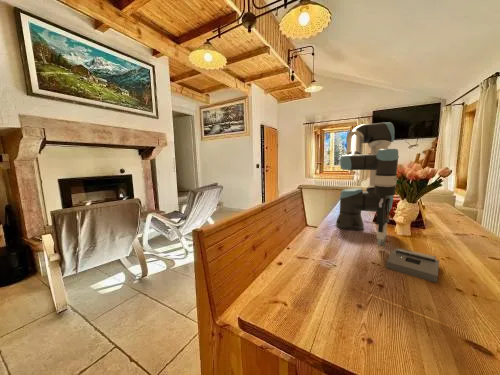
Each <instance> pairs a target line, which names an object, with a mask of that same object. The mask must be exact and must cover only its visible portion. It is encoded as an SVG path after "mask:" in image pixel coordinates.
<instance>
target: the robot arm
mask: <svg viewBox="0 0 500 375" xmlns="http://www.w3.org/2000/svg"><path fill="white" fill-rule="evenodd" d="M395 134H396V133H395V126H394V124H393V123H392V122H391V121H389V122H385V121H382V122H377V123H363V124H360V125H357V126H355V127H353V128H352V129H351V130H350V131H349V132H348V133H347V135H346V138H345V139H346V140H345V141H346V145H347V146H346V151H345V152H346V154H343V155H341V156H340V169H341V170H343V171H344V170H346V171H369V185H368V187H366V190H365V191H364V190H363V188H358V187H357V188H345V189H343V190H341V191H340V196H339V201H340V202H339V213H338V216H337V218H336V224H335V226H336V225H337V226H336V227H338V228H340V229H343V230H347V229H348V230H349V231H361V230H364V227H365V226H364V225H365V224H364V220H363V218H362V212H373V213H376V214H377V216H376V222H375V224H376V225H377V227H376V228H377V229H376V239H377V238H378V239H383V240H384V236H385V215H390V211H391V210H392V206H393V202H394V196H395V195H396V190H397V187H396V185H397V181H399V178H397V174H398V163H399V157H400V156H399V149H397V148H389V147H390V146H391V144H392V143H393V142H394V141H395ZM363 144H367V147H369V148H370V154H369V153H368V154H365V153H363ZM388 223H390V221H389V222H388ZM388 223H387V224H386V233H387V232H388V231H387V230H388Z"/></svg>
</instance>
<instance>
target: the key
mask: <svg viewBox="0 0 500 375" xmlns="http://www.w3.org/2000/svg"><path fill="white" fill-rule="evenodd" d="M375 216H376V217H377V213H375ZM390 218H391V215H390V214H389V215H385V236H384V240H383V239H378V238H377V237H376V239H377V240H376V245H377V246H380V247H385V246H386V238H387V232H386V224H387V225H388V222H389V223H390Z"/></svg>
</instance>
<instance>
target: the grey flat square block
mask: <svg viewBox="0 0 500 375" xmlns="http://www.w3.org/2000/svg"><path fill="white" fill-rule="evenodd" d="M385 268H386V269H389V270H393V271H395V272H399V273H402V274H405V275H408V276H412V277H416V278H419V279H422V280H425V281H429V282H432V283H436V284H437V283H438V277H439V268H440V259H439V260H438V259H437V256H436V255H431V254H426V253H423V252H422V253H421V252H418V251H415V250H410V249H405V248H401V247H398V246H397V247H396V248H395V249H393V250H392V251H391V253H390V255H389V257H388V258H387V259H386V261H385Z"/></svg>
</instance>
